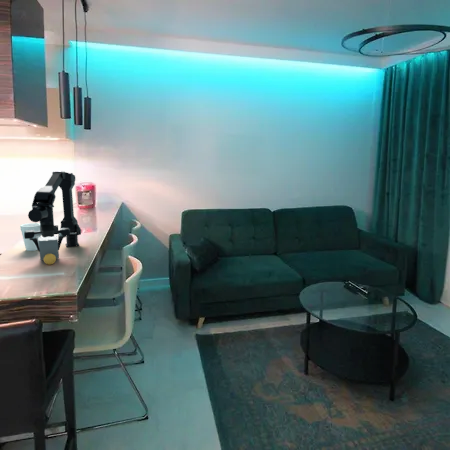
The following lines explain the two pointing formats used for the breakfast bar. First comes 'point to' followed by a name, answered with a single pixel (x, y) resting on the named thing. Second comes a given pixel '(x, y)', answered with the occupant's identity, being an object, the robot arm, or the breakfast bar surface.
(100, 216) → the breakfast bar surface
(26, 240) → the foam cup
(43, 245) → the matte grey cube
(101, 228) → the breakfast bar surface
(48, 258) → the ball
